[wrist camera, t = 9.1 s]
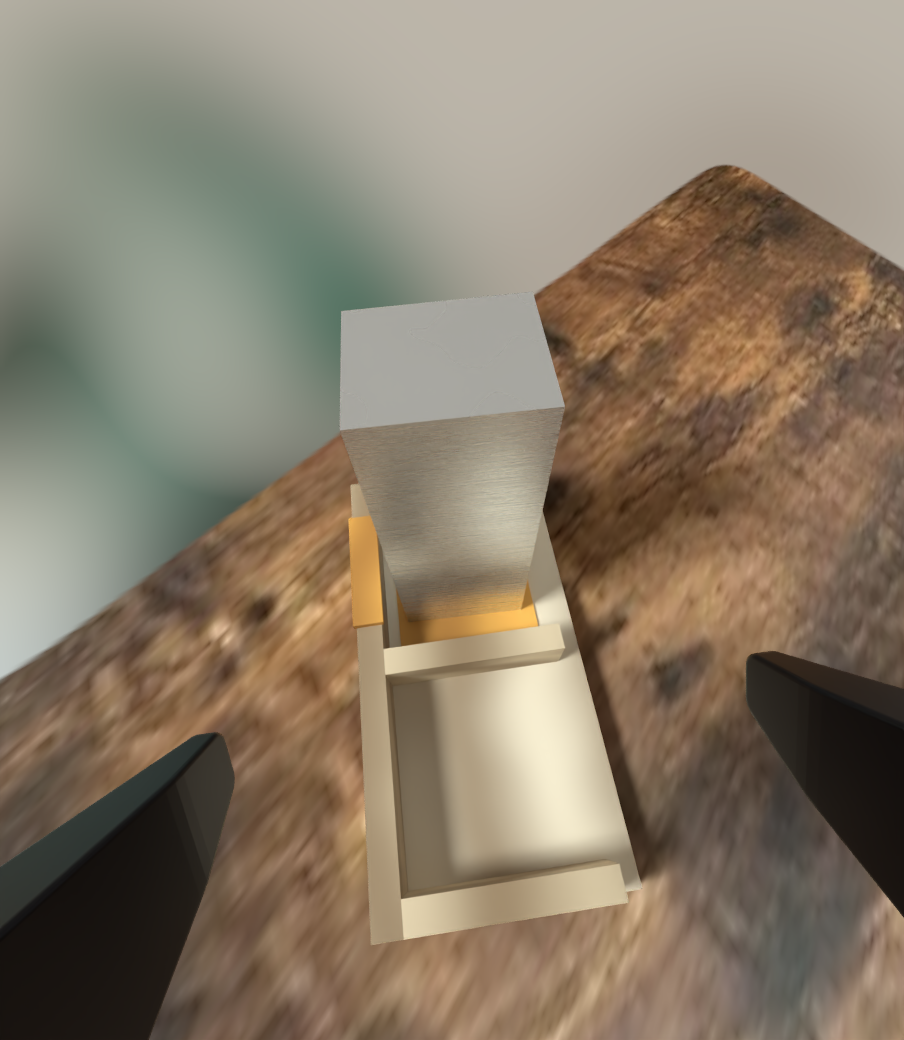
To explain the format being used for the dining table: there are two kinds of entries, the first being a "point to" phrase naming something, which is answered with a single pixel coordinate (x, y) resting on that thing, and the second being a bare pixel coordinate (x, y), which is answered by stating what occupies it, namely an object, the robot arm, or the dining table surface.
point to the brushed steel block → (452, 444)
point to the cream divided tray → (480, 758)
